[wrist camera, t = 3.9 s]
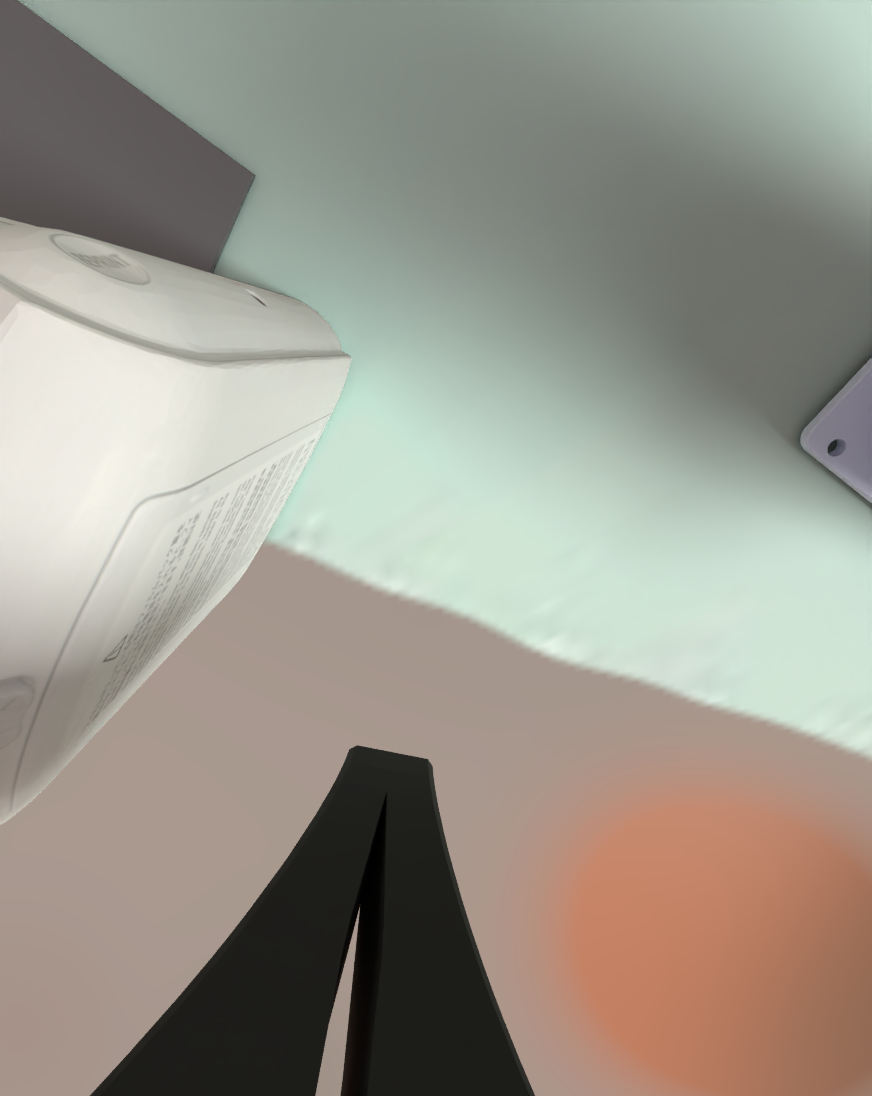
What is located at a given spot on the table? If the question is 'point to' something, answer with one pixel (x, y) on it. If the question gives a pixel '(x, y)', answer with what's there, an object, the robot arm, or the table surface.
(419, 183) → the table surface
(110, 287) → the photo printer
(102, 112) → the mat
